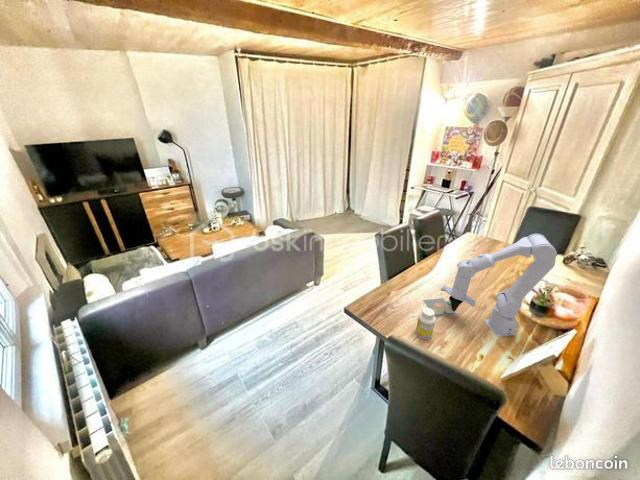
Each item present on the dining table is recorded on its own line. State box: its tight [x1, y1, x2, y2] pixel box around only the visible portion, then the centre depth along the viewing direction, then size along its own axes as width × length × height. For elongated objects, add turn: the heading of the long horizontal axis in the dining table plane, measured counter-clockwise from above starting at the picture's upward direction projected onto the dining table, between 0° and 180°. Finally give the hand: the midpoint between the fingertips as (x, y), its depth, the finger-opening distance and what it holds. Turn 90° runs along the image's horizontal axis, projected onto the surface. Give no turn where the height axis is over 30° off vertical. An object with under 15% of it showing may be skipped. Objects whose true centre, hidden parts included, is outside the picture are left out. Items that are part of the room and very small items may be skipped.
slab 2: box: [444, 300, 456, 313], centre depth 116 cm, size 2×4×5 cm, turn 97°
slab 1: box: [433, 303, 445, 315], centre depth 115 cm, size 2×4×5 cm, turn 97°
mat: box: [422, 297, 458, 318], centre depth 120 cm, size 12×11×1 cm
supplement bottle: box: [415, 307, 437, 340], centre depth 103 cm, size 7×7×13 cm
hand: (453, 309), depth 113 cm, fingers closed
